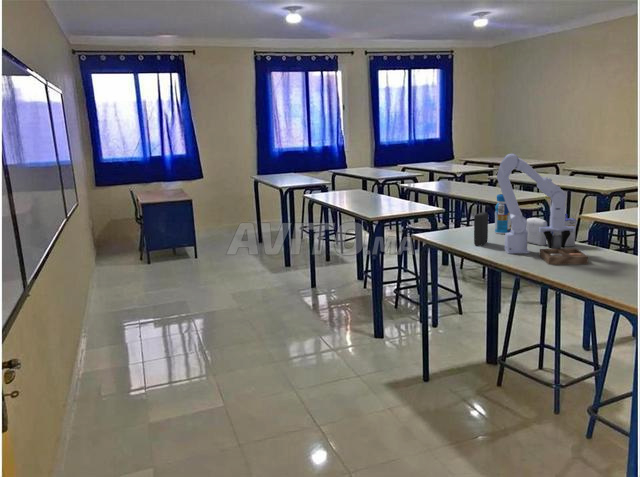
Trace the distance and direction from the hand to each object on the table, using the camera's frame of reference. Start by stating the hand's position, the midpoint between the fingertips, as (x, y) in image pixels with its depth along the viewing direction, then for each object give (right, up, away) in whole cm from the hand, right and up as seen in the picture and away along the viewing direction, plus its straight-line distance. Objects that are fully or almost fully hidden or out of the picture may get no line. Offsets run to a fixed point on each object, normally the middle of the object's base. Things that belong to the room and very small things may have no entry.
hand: (556, 247), depth 231 cm
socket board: (-2, -5, -10) cm, 11 cm away
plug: (0, -2, +1) cm, 2 cm away
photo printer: (-1, +1, +19) cm, 19 cm away
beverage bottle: (-8, +7, +44) cm, 45 cm away
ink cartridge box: (+9, +1, +13) cm, 16 cm away
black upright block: (-26, +1, +24) cm, 35 cm away
